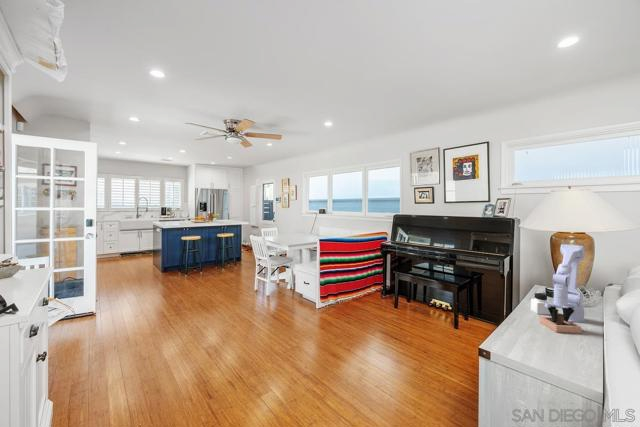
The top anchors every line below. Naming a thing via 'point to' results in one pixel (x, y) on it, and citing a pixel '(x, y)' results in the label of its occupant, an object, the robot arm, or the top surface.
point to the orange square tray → (560, 326)
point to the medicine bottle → (539, 304)
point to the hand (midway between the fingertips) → (559, 320)
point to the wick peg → (560, 319)
